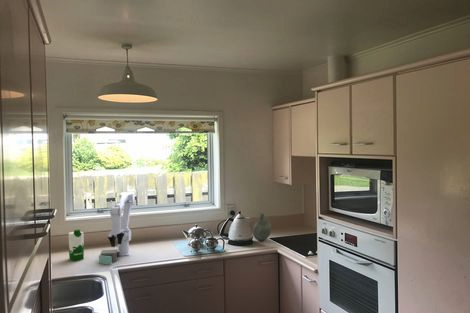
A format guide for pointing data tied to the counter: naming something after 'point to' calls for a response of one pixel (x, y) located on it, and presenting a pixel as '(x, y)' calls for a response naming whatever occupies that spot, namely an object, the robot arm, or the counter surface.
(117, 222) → the robot arm
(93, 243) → the counter surface
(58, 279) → the counter surface
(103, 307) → the counter surface
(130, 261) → the counter surface
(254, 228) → the flask
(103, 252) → the camera body
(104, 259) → the side door
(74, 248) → the milk carton
